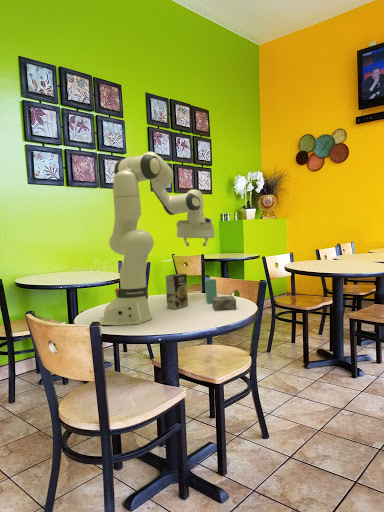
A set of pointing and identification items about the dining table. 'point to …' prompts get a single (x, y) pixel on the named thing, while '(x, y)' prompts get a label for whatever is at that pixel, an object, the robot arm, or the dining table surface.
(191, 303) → the dining table surface
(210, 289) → the teal pillar
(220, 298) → the charcoal block
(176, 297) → the coffee box
